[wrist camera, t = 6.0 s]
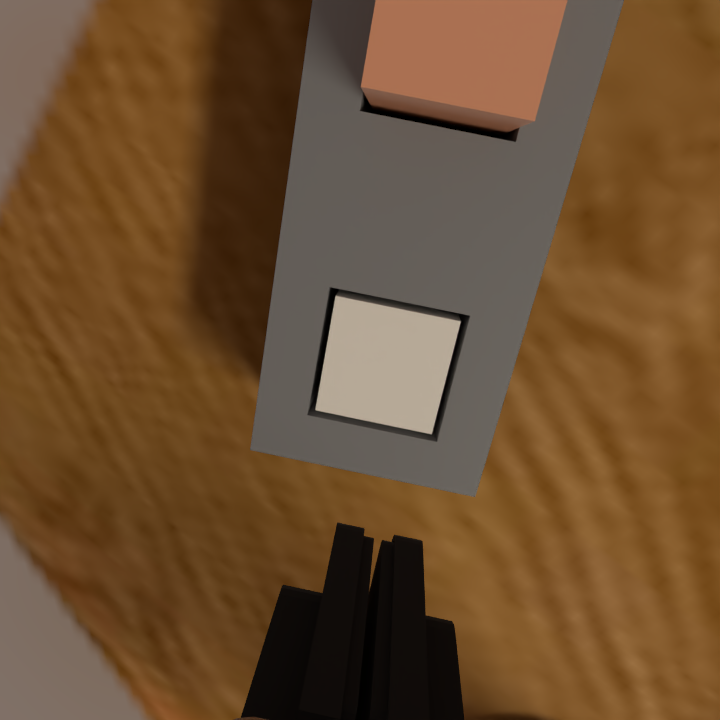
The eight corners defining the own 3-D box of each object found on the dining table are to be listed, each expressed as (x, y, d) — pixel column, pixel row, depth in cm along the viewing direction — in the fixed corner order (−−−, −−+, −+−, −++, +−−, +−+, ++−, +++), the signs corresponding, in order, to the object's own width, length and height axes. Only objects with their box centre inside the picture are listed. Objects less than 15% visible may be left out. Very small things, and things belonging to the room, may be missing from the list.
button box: (461, 435, 30) (475, 497, 24) (279, 397, 30) (250, 449, 24) (595, -42, 23) (658, -115, 17) (354, -89, 23) (336, -176, 17)
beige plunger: (426, 383, 29) (431, 434, 23) (333, 364, 29) (315, 410, 23) (449, 290, 27) (460, 321, 22) (350, 270, 27) (335, 295, 22)
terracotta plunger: (500, 134, 21) (534, 121, 16) (372, 109, 21) (360, 87, 16) (538, -15, 20) (592, -91, 14) (400, -42, 20) (397, -128, 14)
